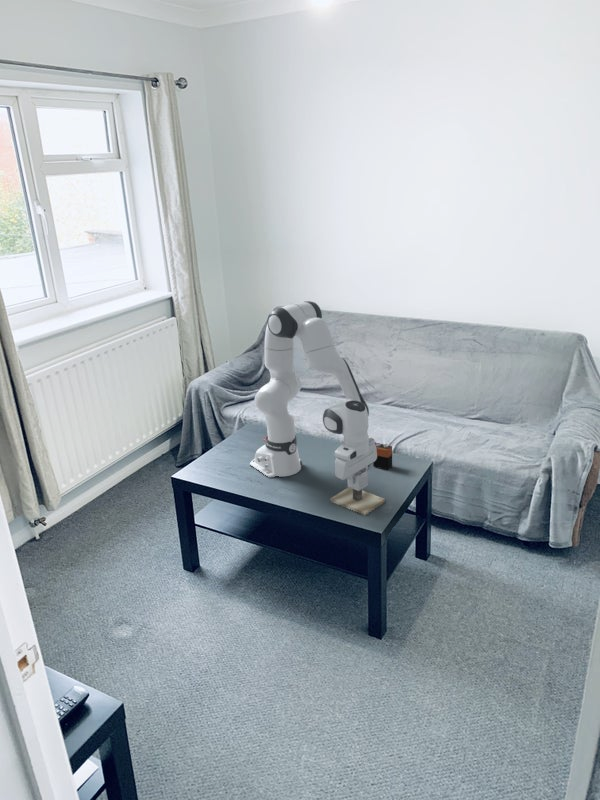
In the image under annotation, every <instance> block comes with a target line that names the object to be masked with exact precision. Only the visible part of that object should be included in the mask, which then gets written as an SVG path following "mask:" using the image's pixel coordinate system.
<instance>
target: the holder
mask: <svg viewBox="0 0 600 800" xmlns="http://www.w3.org/2000/svg"><path fill="white" fill-rule="evenodd" d="M329 502H331V503H334V504H336V505H338V506H340V505H341V507H343V508H345V507H346V508H345V509H348V510H350V509H351V511H352V510H353V512H355V511H356V512H355V513H357V512H358V513H357V514H360V513H361V515H362V514H363V515H362V516H364V515H365V516H367V515H368V514H370V513H372V512H373V511H374V510H376V509H377V508H378V507H380V506H381V505H383V504H384V503H386V499H385V498H384V497H381V496H378V495H376V494H373V493H371V492H368V491H365V490H363V489H361V490H360V491H357V490H355V489H352V488H350V487H348V486H347V487H346V488H345V489H344V490H342V491H340V492H338V493H337V494H336V495H334V496H332V497H331V498H330V501H329ZM375 508H376V509H375ZM372 510H373V511H372ZM369 512H370V513H369ZM366 514H367V515H366Z"/></svg>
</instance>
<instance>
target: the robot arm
mask: <svg viewBox="0 0 600 800" xmlns="http://www.w3.org/2000/svg"><path fill="white" fill-rule="evenodd" d="M267 316H268V317H267V319H266V321H267V322H266V323H267V324H266V328H265V333H264V358H263V359H264V363H263V364H264V366H265V368H266V369H267V370H269V374H270V380H269V382H267V383H266V384H264V385H263V386H261V387H260V388H259V390H258V391H257V393H256V394H255V396H254V404H255V407H256V409H257V410H258V411H259V412H261V413H262V414H263V416H264V418H265V423H266V431H267V436H266V437H264V438H263V441H265V444H263V445H262V446H261V447H259V448H258V449H257V450H256V451H255V455H254V458H253V459H252V460H251V461H250V463H249V466H250V465H251V466H253V467H254V468H256V469H257V470H259V471H260V472H262V473H263V474H264V475H263V474H262V473H261V474H262V475H263V476H265V475H266V476H268V477H267V478H274V477H275V476H279V477H280V478H281V477H290V476H293V475H296V474H298V473H299V472H300V471H301V469H302V465H301V458H300V456H299V450H298V438H297V435H296V427H295V419H294V416H292V415H291V414H290V413H289V410H288V404H289V403H290V402H291V401H292V400H293V399H295V398H296V397H297V396H298V394H299V393H300V391H301V389H302V383H301V379H300V378H299V377H298V376H297V374H296V371H295V367H294V337H297V338H298V339H299V340H300V341H301V344H302V348H303V352H304V356H305V359H306V363H307V364H308V366H309V368H311V370H313V371H314V372H316V373H319V374H325V375H330V376H332V377H335V379H337V381H338V382H339V383H338V384H339V385H340V388H341V390H342V392H343V395H344V397H345V401H344V402H342V403H338V404H335V405H332V406H330V407H328V408H326V409H325V410H324V411H323V413H322V423H323V426H324V428H325V429H326V430H327V431H328V432H329V433H332V434H335V435H343V441H342V443H341V444H340V445H339V446H338V447H337V448H336V449H335V451H334V457H335V460H334V473H335V474H334V475H335V477H336V478H338V479H339V480H342V481H344V480H347V479H348V483H349V484H350V485H353V484H354V483H355V480H354V479H352V477H353V474H355V473H356V472H358V471H360V470H361V469H364V470H367V471H368V468H369V465H371V464H372V463H373V462H374V461H376V459H377V449H376V445H375V442H376V440H375V439H374V438H373V437H369V434H368V431H369V428H370V427H369V415H370V409H369V405H368V404H367V402H366V401H365V399H364V397H363V396H362V394H361V391H360V388H359V386H358V383H357V381H356V379H355V377H354V374H353V372H352V369H351V368H350V365H349V364H348V362H347V360H346V359H345V358H344V357H341V356H340V354H339V352H338V350H337V348H336V346H335V342H334V339H333V336H332V333H331V331H330V328H329V326H328V324H327V322H326V321H325V319H323V314H322V309H321V308H320V306H319V305H318V303H316V302H314V301H311V300H304V301H302V302H294V303H290V304H287V305H285V306H282V307H277V308H275V309H274V310H272V311H271V312H269V314H268V315H267ZM253 461H254V462H253ZM251 466H250V467H251ZM253 467H252V468H253ZM254 468H253V469H254ZM256 469H255V470H256ZM257 470H256V471H257ZM259 471H258V472H259ZM260 472H259V473H260ZM266 476H265V477H266ZM275 478H276V477H275ZM348 483H347V484H348Z"/></svg>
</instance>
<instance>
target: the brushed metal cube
mask: <svg viewBox="0 0 600 800" xmlns="http://www.w3.org/2000/svg"><path fill="white" fill-rule="evenodd" d="M352 479H354V480H355V483H354V484H353V485H350V484H349V483H348V479H346V480H347V488H348V487H350V488H352V489H355V490H357V491H360V490H361V489H362V490H363V489H364V488H366V487H368V486H369V484H368V483H369V481H368V479H369V478H368V469H367V470H364V469H361V470H360V471H358V472H356V473H355V474H353V477H352Z"/></svg>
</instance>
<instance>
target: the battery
mask: <svg viewBox="0 0 600 800" xmlns="http://www.w3.org/2000/svg"><path fill="white" fill-rule="evenodd" d="M376 443H377V442H376ZM376 449H377V459H376V461H374V462H373V465H372V466H373V468H378V469H381V468H382V469H383V470H386V471H388V470H390V469H391V468H392V466H393V446H392V445H390V444H389V443H384V444H383V443H381V442H378V443H377V444H376Z"/></svg>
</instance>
